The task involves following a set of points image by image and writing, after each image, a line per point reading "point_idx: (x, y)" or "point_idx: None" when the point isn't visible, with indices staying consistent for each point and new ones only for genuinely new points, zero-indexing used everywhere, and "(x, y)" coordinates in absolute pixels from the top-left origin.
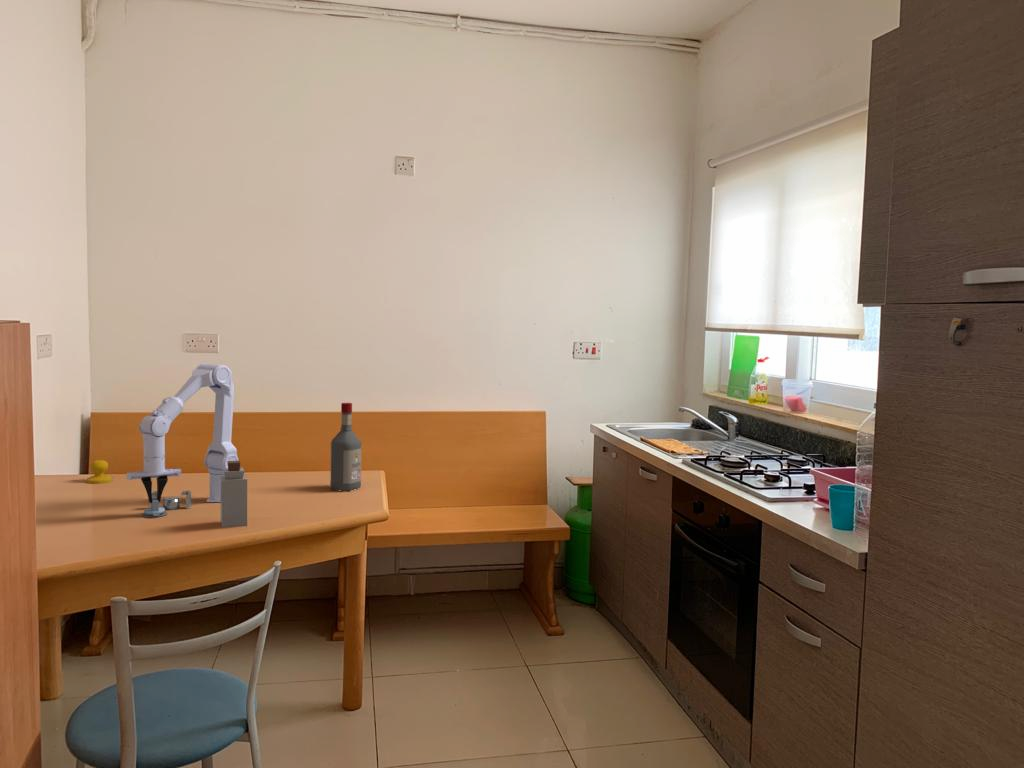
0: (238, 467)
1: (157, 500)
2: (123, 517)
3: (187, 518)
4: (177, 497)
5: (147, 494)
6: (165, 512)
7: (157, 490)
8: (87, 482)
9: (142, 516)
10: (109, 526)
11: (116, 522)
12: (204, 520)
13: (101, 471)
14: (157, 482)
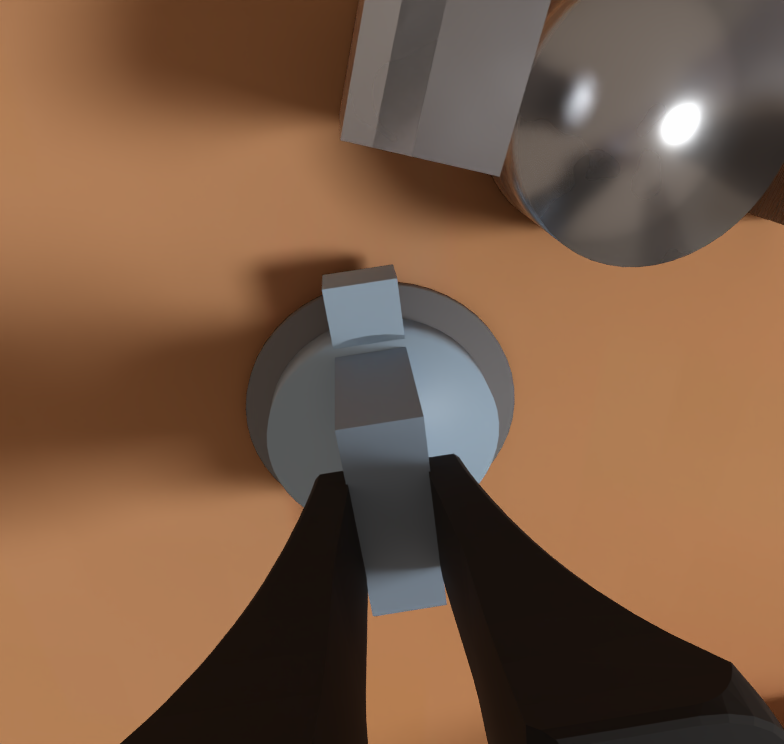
0: None
1: (434, 586)
2: (65, 440)
3: (647, 581)
4: (764, 87)
5: (291, 544)
6: (494, 390)
7: (463, 575)
8: None
9: (262, 455)
10: (35, 682)
11: (54, 592)
12: (745, 648)
13: None
14: (503, 721)
